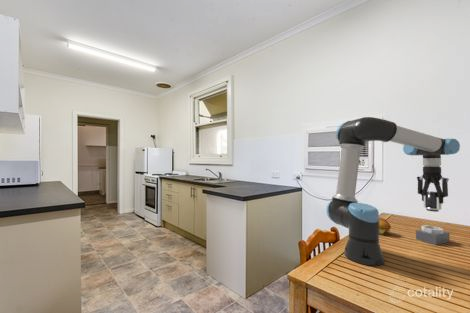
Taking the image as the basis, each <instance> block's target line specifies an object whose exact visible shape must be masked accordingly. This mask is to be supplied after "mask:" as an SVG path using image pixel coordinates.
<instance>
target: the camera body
mask: <svg viewBox="0 0 470 313" xmlns="http://www.w3.org/2000/svg"><path fill="white" fill-rule="evenodd" d="M415 239H416V240H417V241H421V242H424V243H427V244H431V245H434V246H437V245H441V244H446V243H450V240H451V239H450V232H449V231H445V230H444V229H443V227H439V226H435V225H427V224H426V225H425V224H424V225H421V229H417V230H415Z"/></svg>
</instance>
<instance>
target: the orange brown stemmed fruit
mask: <svg viewBox="0 0 470 313" xmlns="http://www.w3.org/2000/svg"><path fill="white" fill-rule="evenodd" d="M391 229H392V227H391V224H390V223H389V221H388V220H387V219H386V218H384V217H379V235H388V234H389V233H391Z"/></svg>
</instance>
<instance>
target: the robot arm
mask: <svg viewBox="0 0 470 313" xmlns="http://www.w3.org/2000/svg"><path fill="white" fill-rule="evenodd" d="M335 132H336V133H335V137H336V139H337V141H338V142H339V143H338V146H339V147H340V148H341V151H340V152H341V154H340V161H339V162H340V163H339V168H338V174H337V175H338V177H337V178H338V179H337V185H336V192H335V194H334V195H333V196H332V199H331V201H329V202H328V203H327V205H326V214H327V217H328V219H329V220H330V221H332V223H334V224H336V225H340V226H342V227H344V228H347V229H348V240H347V242H346V244H345V247H344V256H345V258H347V259H348V260H350V261H352V262H355V263H357V264H360V265H365V266H374V265H377V266H382V265H384V263H385V256H384V254H383V251H382V248H381V245H380V234H379V218H380V216H379V210H378V208H376V207H375V206H373V205H371V204H367V203H364V202H359V201H358V199H357V198H356V190H357V181H358V173H359V165H360V157H361V152H362V150H363V149H364V148H365V145H366V142H374V141H376V142H377V141H378V142H384V143H388V142H392V143H396V144H399V145H402V151H403V152H404V154H405V155H407V156H422V166H423V167H422V175H421V176H417V177H416V179H417V194H419V195H421V201H422V202H423V208H425V209H426V192H427V191H429V187H430V185H431V184H433V185H434V187H435V192H437V194H438V197H437V210H439V211H440V210H442V205H443V204H444V198H447V197H449V190H448V189H449V188H448V182H449V178H448V177H443V175H442V167H441V166H442V157H441V156H443V155H445V156H449V155H455V154H457V153H458V152H459V151H460V149H461V148H460V147H461V145H460V141H458V139H456V138H442V137H437V136H435V135H434V136H433V135H431V134H426V133H424V132H420V131H416V130H413V129H410V128H406V127H402V126H401V125H397V123H396V122H394V121H391V120H387V119H384V118H377V117H373V116H372V117H371V116H365V117H361V118H356V119H353V120H347V121H345V122H343V123H341V124H340V125H339V126H338V127H337V130H336V131H335ZM440 180H441V182H440ZM441 187H442V188H441Z"/></svg>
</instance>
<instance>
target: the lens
mask: <svg viewBox="0 0 470 313" xmlns="http://www.w3.org/2000/svg"><path fill="white" fill-rule="evenodd" d="M437 197H438V194H437V191H429V190H428V191H427V192H426V208H425V209H426V211H427V212H434V213H437V212H440V210H437Z"/></svg>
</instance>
